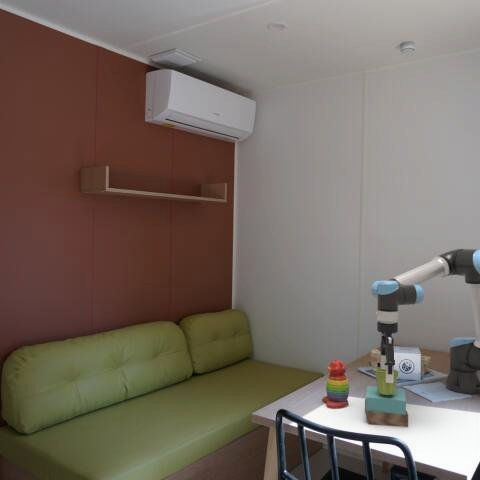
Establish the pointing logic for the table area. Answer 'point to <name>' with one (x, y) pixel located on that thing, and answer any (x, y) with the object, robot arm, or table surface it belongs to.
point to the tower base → (386, 418)
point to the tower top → (386, 401)
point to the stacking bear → (337, 386)
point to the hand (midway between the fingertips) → (386, 377)
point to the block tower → (377, 361)
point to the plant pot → (381, 382)
